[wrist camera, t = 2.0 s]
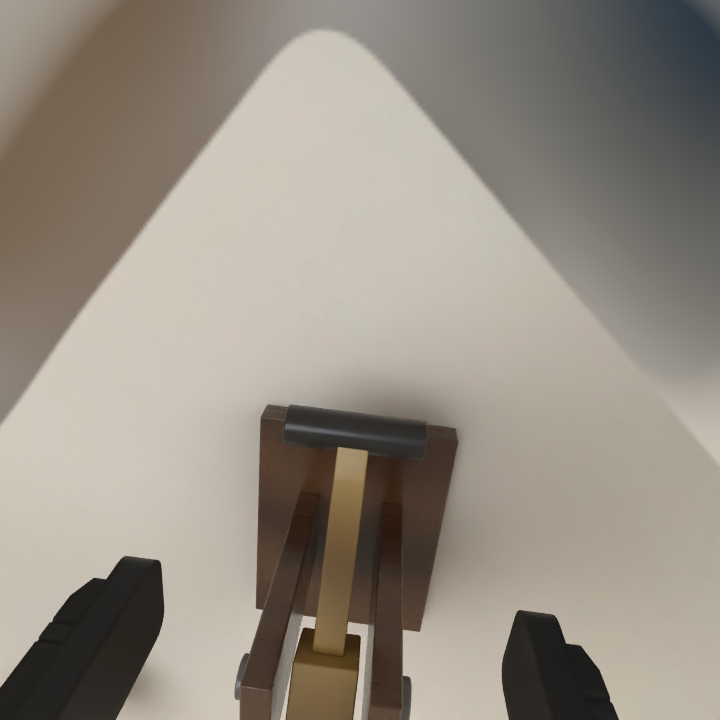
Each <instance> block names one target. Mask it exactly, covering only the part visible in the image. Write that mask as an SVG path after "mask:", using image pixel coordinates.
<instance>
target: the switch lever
mask: <svg viewBox="0 0 720 720" xmlns="http://www.w3.org/2000/svg"><path fill="white" fill-rule="evenodd" d="M283 441H284V444H287V445H294V446H302V447H310V448H318V449H326V450H333V451H337V455H336V463H335V471H334V479H333V487H332V495H331V504H330V512H329V520H328V528H327V536H326V544H325V552H324V560H323V568H322V576H321V584H320V592H319V600H318V608H317V616H316V624H315V629H310V628H303V630H302V633H301V637H300V640H299V643H298V647H297V650H296V654H295V657H294V660H293V665H292V673H291V681H290V689H289V697H288V705H287V713H286V720H353V715H354V707H355V698H356V690H357V682H358V673H359V657H360V640H361V637H360V636H359V635H353V634H346V633H347V625H348V617H349V609H350V600H351V592H352V584H353V576H354V567H355V559H356V551H357V543H358V534H359V526H360V518H361V510H362V501H363V493H364V485H365V477H366V468H367V460H368V455H372V456H380V457H388V458H396V459H404V460H411V461H419V462H421V461H423V459H424V455H425V450H426V443H427V423H426V422H425V421H419V420H411V419H403V418H395V417H387V416H379V415H371V414H363V413H355V412H347V411H339V410H331V409H323V408H315V407H307V406H299V405H289V407H288V409H287V412H286V415H285V420H284V427H283Z"/></svg>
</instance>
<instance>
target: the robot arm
mask: <svg viewBox="0 0 720 720" xmlns="http://www.w3.org/2000/svg"><path fill="white" fill-rule="evenodd" d="M163 617H164V598H163V584H162V569H161V563H160V561H159V560H153V559H145V558H138V557H131V556H125V557H123V558H122V559H121V560H120V561H119V562H118V563H117V565H116V566H115V568H114V569H113V571H112V572H111V573H110V575H109V576H108V578H107V579H99V578H93V579H92V580H90V581H89V582H88V583H86V584H85V585H84V586H82V587H81V588H80V589H78V590H77V591H76V592H75V593H73V594H72V595H71V596H70V597H69V598H68V599H67V601H66V602H65V603H64V605H63V606H62V607H61V609H60V610H59V611H58V613H57V614H56V615H55V616H54V618H53V621H52V623H49V624H48V626H47V627H46V628H45V630H44V631H43V632H42V634H41V635H40V636H39V640H38V641H37V642H35V643H34V644H33V645H32V647H31V648H30V649H29V651H28V652H27V653H26V655H25V656H24V657H23V659H22V660H21V661H20V663H19V664H18V665H17V667H16V668H15V669H14V670H13V672H12V673H11V674H10V676H9V677H8V678H7V680H6V681H5V682H4V684H3V685H2V686H1V688H0V720H116V718H117V716H118V714H119V712H120V710H121V708H122V707H123V705H124V703H125V701H126V699H127V697H128V695H129V693H130V691H131V689H132V687H133V685H134V683H135V681H136V679H137V677H138V675H139V673H140V671H141V669H142V667H143V665H144V663H145V661H146V659H147V657H148V655H149V654H150V652H151V650H152V648H153V646H154V644H155V642H156V640H157V637H158V635H159V632H160V629H161V626H162V622H163ZM502 685H503V692H504V697H505V702H506V707H507V712H508V717H509V720H619V719H618V717H617V714H616V711H615V709H614V706H613V704H612V703H611V702H610V696H609V693H608V691H607V688H606V686H605V683H604V681H603V678H602V675H601V673H600V670H599V669H598V668H597V666H596V665H595V664H594V662H593V661H592V660H591V659H590V657H589V656H588V655H587V653H586V652H585V651H584V649H583V648H582V647H581V646H579V645H572V644H566V642H565V639H564V636H563V633H562V630H561V628H560V625H559V622H558V620H557V618H556V617H555V616H554V615H552V614H545V613H537V612H530V611H522V610H519V611H518V612H517V613H516V616H515V619H514V622H513V626H512V629H511V633H510V636H509V639H508V643H507V646H506V650H505V653H504V657H503V662H502Z"/></svg>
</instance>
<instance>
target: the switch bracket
mask: <svg viewBox="0 0 720 720" xmlns="http://www.w3.org/2000/svg"><path fill="white" fill-rule="evenodd" d="M287 409H288V408H287V407H279V406H271V405H267V406H266V408H265V410H264V412H263V414H262V416H261V424H260V465H259V505H258V545H257V586H256V609H261V610H263V612H262V615H261V618H260V622H259V625H258V628H257V631H256V635H255V638H254V641H253V644H252V648H251V651H250V654H248V653H246V654H244V656H243V658H242V660H241V663H240V666H239V670H238V674H237V679H236V684H235V699H236V700H240V720H280V717H281V713H282V708H283V704H284V699H285V695H286V690H287V685H288V681H289V676H290V672H291V667H292V663H293V658H294V653H295V649H296V644H297V640H298V635H299V631H300V626H301V621H302V617H303V615H304V616H311V617H316V616H317V608H318V600H319V592H320V584H321V576H322V568H323V560H324V552H325V544H326V536H327V528H328V520H329V512H330V504H331V495H332V487H333V479H334V471H335V463H336V455H337V451H333V450H326V449H318V448H310V447H302V446H294V445H287V444H284V441H283V427H284V420H285V415H286V412H287ZM457 445H458V439H457V434H456V429H454V428H446V427H438V426H430V425H427V443H426V450H425V455H424V459H423V461H421V462H419V461H411V460H404V459H396V458H388V457H380V456H372V455H368V460H367V468H366V477H365V485H364V493H363V501H362V510H361V518H360V526H359V534H358V543H357V551H356V559H355V567H354V576H353V584H352V592H351V600H350V609H349V617H348V622H353V623H360V624H368V637H367V651H366V664H365V678H364V691H363V705H362V718H361V720H409V717H410V709H411V679H410V677H408V676H403V630H410V631H417V632H420V629H421V624H422V619H423V614H424V609H425V604H426V599H427V594H428V589H429V584H430V579H431V574H432V569H433V564H434V559H435V554H436V550H437V545H438V540H439V535H440V530H441V525H442V520H443V515H444V510H445V505H446V500H447V495H448V490H449V485H450V480H451V475H452V470H453V465H454V460H455V455H456V450H457Z"/></svg>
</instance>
